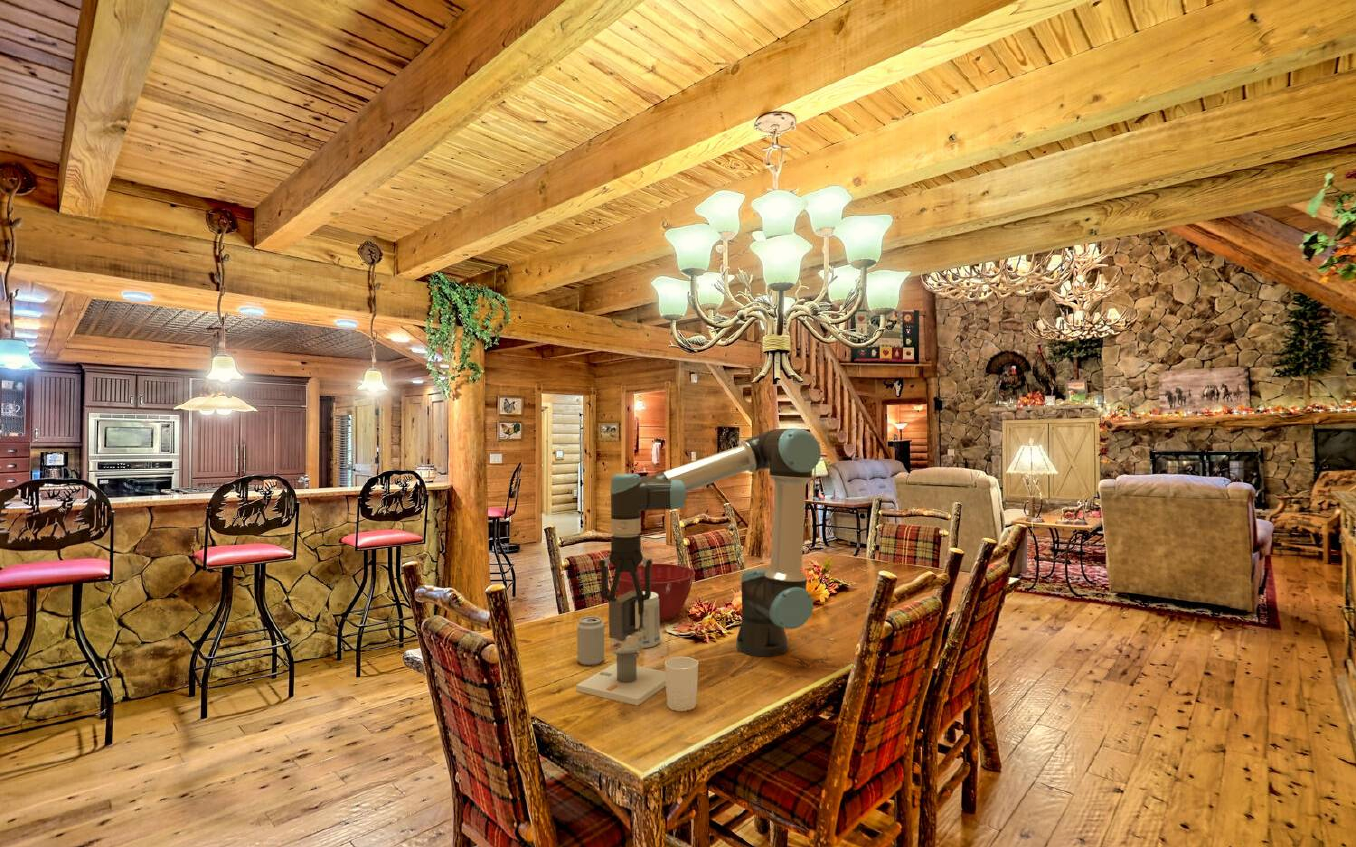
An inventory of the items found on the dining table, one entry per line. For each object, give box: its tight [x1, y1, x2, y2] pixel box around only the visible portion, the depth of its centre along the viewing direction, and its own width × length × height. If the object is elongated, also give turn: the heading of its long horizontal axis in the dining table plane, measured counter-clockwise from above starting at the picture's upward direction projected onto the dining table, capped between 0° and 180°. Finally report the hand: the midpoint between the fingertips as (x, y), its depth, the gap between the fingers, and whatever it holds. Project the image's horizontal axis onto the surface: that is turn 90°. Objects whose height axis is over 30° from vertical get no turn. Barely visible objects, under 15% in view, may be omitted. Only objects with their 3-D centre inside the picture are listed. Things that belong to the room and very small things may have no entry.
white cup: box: [664, 656, 699, 712], centre depth 148 cm, size 8×8×10 cm
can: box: [576, 615, 605, 667], centre depth 176 cm, size 8×8×12 cm
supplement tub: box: [640, 591, 661, 649], centre depth 192 cm, size 10×10×15 cm
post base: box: [575, 652, 666, 707], centre depth 160 cm, size 18×18×9 cm
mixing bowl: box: [612, 563, 696, 622], centre depth 220 cm, size 28×28×16 cm
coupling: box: [608, 591, 643, 654], centre depth 160 cm, size 12×8×13 cm, turn 156°
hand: (626, 626), depth 160 cm, fingers closed on coupling, 5 cm apart
